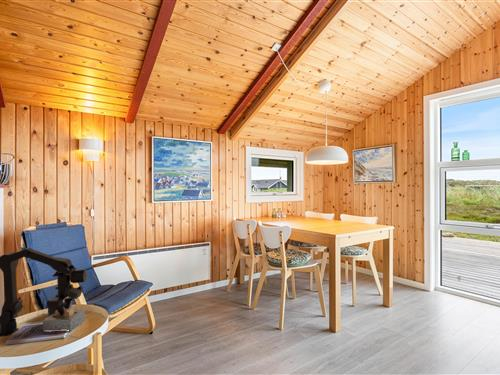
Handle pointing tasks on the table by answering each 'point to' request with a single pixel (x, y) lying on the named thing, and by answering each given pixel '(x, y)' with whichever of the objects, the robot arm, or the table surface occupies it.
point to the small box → (52, 309)
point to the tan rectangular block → (65, 313)
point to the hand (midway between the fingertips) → (64, 313)
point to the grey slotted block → (64, 321)
